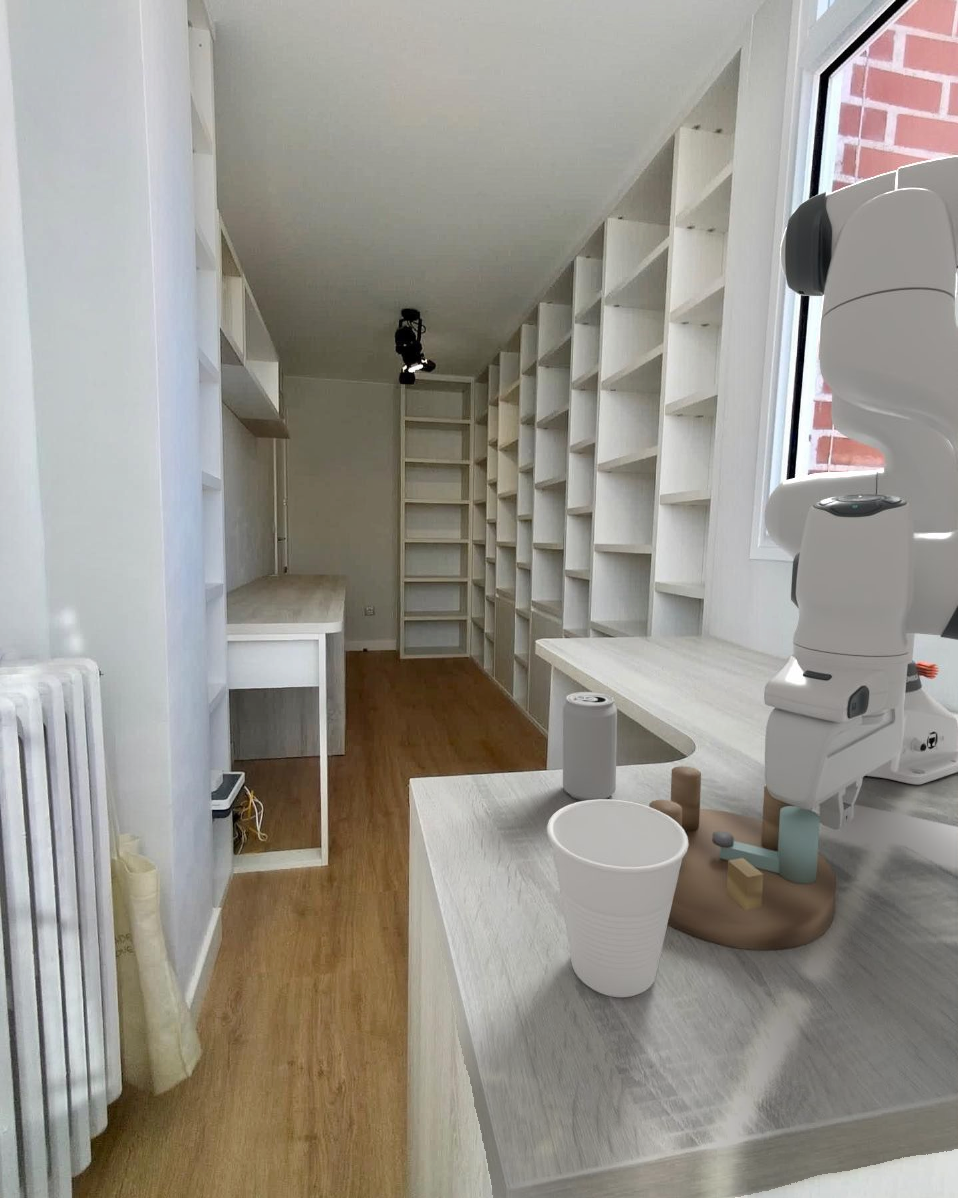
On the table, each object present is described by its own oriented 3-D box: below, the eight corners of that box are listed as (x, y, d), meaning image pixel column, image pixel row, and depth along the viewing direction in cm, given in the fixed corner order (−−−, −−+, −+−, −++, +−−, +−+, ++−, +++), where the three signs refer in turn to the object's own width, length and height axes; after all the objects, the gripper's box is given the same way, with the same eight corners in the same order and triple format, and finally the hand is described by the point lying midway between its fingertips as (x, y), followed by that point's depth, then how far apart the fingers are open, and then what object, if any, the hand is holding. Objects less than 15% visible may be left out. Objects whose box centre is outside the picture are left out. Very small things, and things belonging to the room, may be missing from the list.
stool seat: (740, 821, 66) (743, 751, 65) (887, 926, 49) (895, 834, 48) (589, 844, 62) (590, 770, 61) (692, 970, 45) (696, 869, 44)
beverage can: (616, 806, 70) (618, 706, 68) (560, 802, 71) (561, 704, 70) (615, 783, 76) (616, 691, 75) (564, 779, 77) (564, 688, 76)
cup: (657, 922, 50) (661, 796, 48) (705, 1021, 40) (712, 867, 39) (538, 926, 50) (538, 800, 48) (557, 1027, 40) (558, 872, 38)
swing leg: (708, 859, 54) (711, 803, 54) (714, 844, 57) (717, 790, 56) (815, 887, 50) (819, 826, 49) (816, 869, 53) (820, 811, 52)
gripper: (856, 655, 63) (847, 781, 65) (753, 689, 51) (745, 844, 52) (928, 666, 58) (916, 803, 60) (833, 707, 46) (821, 877, 47)
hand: (835, 822), depth 56 cm, fingers closed
